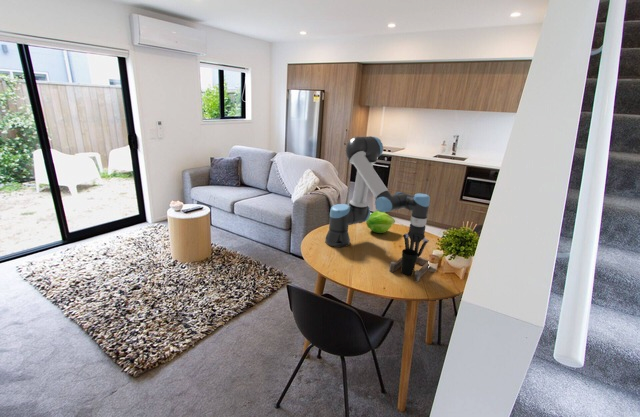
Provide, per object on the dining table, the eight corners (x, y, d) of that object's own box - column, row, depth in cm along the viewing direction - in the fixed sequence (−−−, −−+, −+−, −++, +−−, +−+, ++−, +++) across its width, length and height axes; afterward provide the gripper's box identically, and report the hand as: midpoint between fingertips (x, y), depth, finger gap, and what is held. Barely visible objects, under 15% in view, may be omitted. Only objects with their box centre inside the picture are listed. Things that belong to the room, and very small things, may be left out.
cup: (412, 278, 154) (415, 257, 150) (397, 274, 158) (400, 253, 154) (416, 272, 161) (419, 251, 157) (401, 268, 164) (404, 247, 160)
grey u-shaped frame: (389, 271, 160) (390, 262, 159) (405, 258, 176) (406, 250, 174) (417, 281, 152) (419, 272, 150) (431, 267, 167) (433, 258, 166)
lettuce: (398, 235, 209) (399, 218, 201) (369, 239, 207) (369, 222, 200) (390, 222, 221) (392, 206, 214) (363, 226, 219) (363, 210, 212)
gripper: (402, 223, 156) (396, 264, 163) (428, 230, 149) (420, 273, 156) (408, 219, 162) (402, 260, 169) (433, 225, 155) (425, 268, 162)
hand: (411, 266), depth 163 cm, fingers closed
